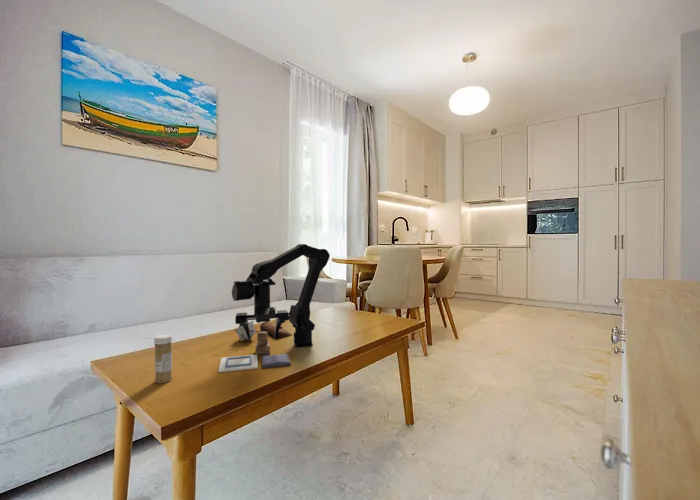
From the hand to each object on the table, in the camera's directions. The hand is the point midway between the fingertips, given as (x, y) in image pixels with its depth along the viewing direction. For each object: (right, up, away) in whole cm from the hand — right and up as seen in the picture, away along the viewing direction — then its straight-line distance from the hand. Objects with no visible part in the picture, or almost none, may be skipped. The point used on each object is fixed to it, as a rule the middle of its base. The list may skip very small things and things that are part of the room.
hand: (262, 339), depth 126 cm
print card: (-5, -5, -11) cm, 13 cm away
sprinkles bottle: (-23, -6, -24) cm, 34 cm away
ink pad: (+7, -5, -9) cm, 13 cm away
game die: (-11, -5, +16) cm, 20 cm away
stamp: (0, -5, 0) cm, 5 cm away
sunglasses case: (-1, -5, +27) cm, 27 cm away
